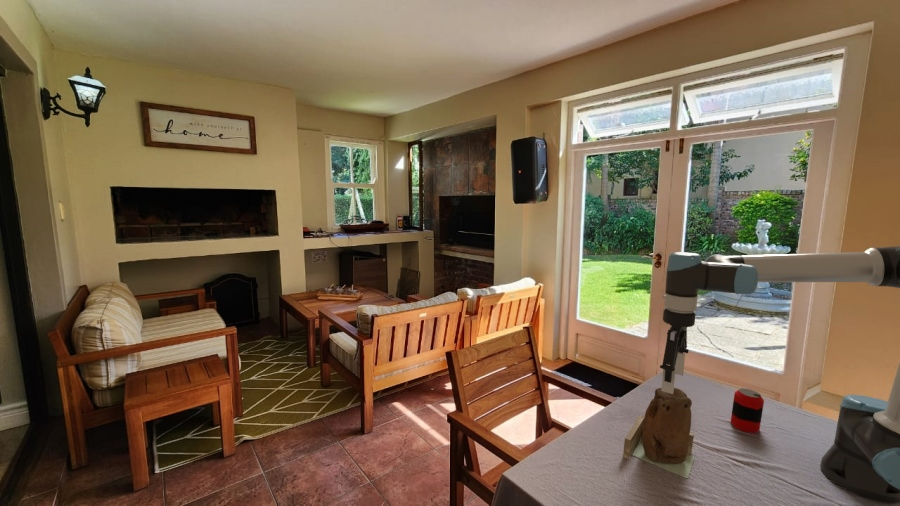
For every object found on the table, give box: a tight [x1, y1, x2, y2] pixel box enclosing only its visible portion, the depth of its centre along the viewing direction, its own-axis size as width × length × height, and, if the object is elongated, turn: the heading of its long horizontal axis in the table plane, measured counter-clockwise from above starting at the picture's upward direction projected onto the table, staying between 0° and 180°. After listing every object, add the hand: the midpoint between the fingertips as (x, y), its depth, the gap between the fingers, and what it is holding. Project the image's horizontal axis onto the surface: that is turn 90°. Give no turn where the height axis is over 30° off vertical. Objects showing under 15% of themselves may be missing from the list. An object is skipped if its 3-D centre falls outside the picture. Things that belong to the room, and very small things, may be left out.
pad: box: [631, 436, 695, 479], centre depth 111 cm, size 14×11×1 cm
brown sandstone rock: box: [641, 387, 693, 464], centre depth 109 cm, size 11×8×20 cm
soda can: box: [730, 387, 765, 434], centre depth 125 cm, size 8×8×12 cm
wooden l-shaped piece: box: [622, 415, 695, 460], centre depth 111 cm, size 15×16×6 cm
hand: (672, 382), depth 107 cm, fingers open, 13 cm apart
